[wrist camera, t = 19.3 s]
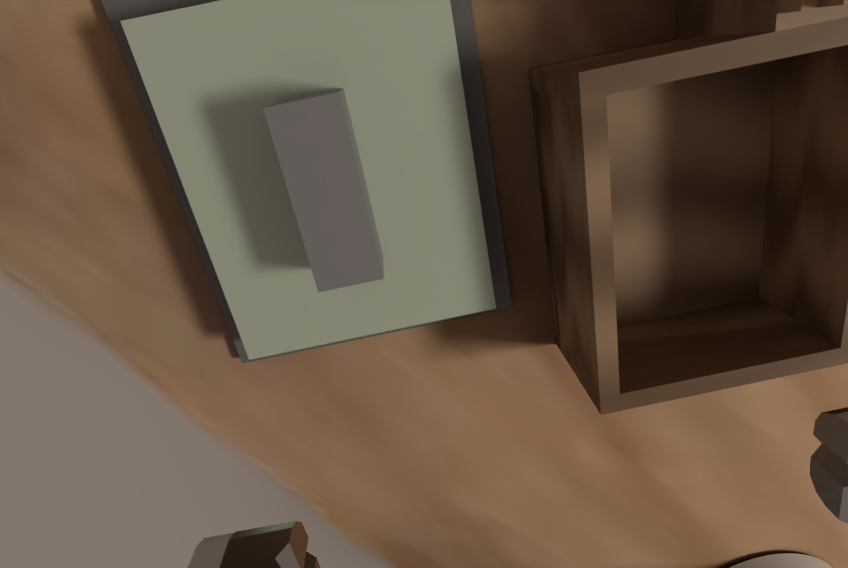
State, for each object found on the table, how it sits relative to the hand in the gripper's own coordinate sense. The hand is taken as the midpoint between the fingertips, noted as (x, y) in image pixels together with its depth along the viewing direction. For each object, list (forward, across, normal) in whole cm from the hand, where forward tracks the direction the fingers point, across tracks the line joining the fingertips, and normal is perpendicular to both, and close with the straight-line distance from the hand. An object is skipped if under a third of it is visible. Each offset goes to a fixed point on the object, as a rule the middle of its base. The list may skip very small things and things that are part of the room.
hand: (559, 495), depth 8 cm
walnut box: (+22, -12, 0) cm, 25 cm away
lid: (+21, +5, -2) cm, 21 cm away
